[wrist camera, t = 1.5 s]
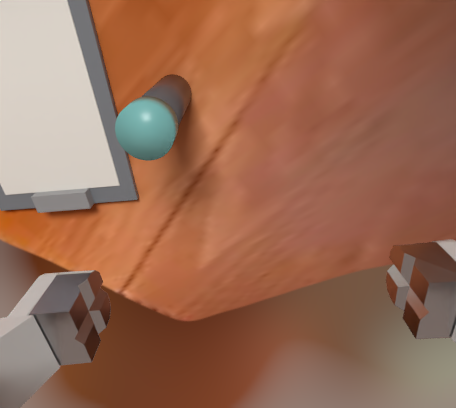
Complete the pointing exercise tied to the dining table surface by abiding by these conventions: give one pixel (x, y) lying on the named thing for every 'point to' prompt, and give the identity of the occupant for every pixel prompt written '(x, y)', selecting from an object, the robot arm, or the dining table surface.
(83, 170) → the clipboard
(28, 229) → the dining table surface
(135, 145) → the marker
